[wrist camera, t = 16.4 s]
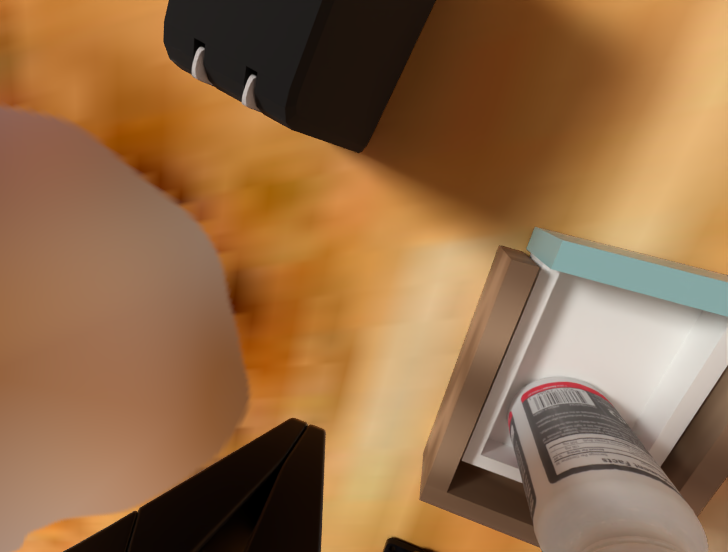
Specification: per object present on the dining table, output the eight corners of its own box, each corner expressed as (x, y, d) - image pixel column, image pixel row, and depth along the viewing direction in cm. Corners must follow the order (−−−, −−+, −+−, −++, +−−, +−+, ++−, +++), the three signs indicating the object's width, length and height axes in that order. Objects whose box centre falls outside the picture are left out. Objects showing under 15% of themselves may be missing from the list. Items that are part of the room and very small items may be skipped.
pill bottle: (582, 471, 19) (707, 735, 10) (489, 433, 20) (527, 647, 11) (634, 396, 17) (842, 632, 8) (530, 357, 18) (616, 534, 9)
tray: (609, 484, 20) (652, 563, 16) (455, 429, 21) (457, 488, 17) (736, 277, 16) (839, 311, 12) (535, 226, 17) (562, 240, 13)
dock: (611, 522, 21) (643, 588, 17) (423, 452, 22) (419, 499, 19) (747, 311, 16) (826, 344, 13) (499, 245, 18) (511, 259, 15)
